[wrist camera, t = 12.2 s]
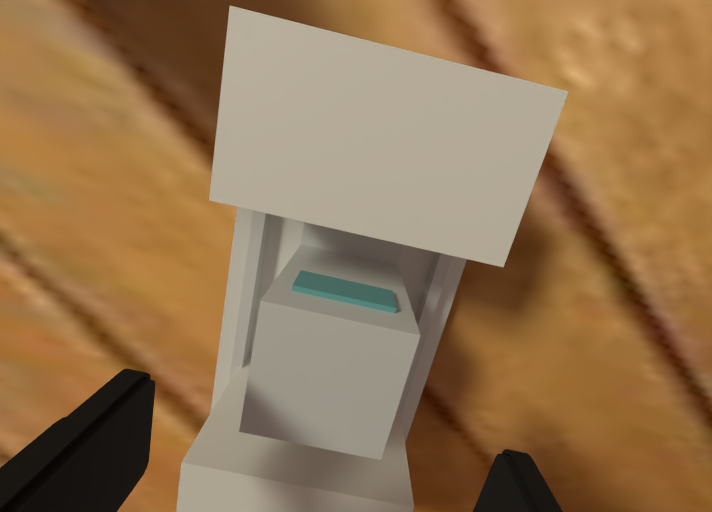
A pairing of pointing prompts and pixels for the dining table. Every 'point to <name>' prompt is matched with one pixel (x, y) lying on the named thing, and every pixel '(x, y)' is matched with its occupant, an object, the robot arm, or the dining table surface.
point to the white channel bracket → (352, 225)
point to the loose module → (330, 353)
